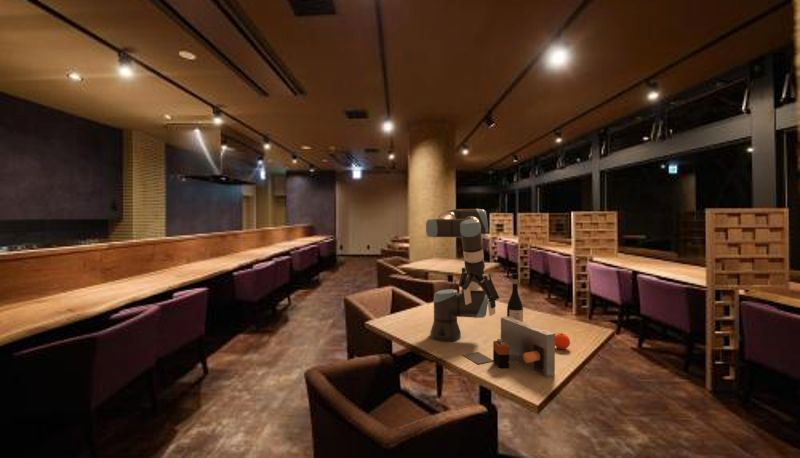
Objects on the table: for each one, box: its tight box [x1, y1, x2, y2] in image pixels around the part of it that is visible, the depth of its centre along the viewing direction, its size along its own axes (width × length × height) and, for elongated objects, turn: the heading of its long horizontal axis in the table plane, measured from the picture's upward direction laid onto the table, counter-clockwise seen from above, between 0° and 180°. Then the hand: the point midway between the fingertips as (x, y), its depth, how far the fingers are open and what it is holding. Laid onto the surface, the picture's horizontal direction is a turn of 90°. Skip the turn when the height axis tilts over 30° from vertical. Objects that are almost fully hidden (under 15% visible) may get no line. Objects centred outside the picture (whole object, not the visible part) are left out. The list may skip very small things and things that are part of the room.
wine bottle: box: [506, 272, 524, 322], centre depth 192 cm, size 8×8×30 cm
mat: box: [462, 351, 494, 366], centre depth 154 cm, size 11×8×1 cm
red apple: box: [555, 332, 571, 350], centre depth 165 cm, size 8×7×7 cm
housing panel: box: [500, 316, 556, 379], centre depth 148 cm, size 26×4×16 cm, turn 24°
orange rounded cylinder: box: [523, 351, 540, 363], centre depth 137 cm, size 4×5×4 cm
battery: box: [492, 338, 510, 370], centre depth 146 cm, size 4×7×10 cm, turn 6°
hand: (479, 308), depth 146 cm, fingers open, 13 cm apart
